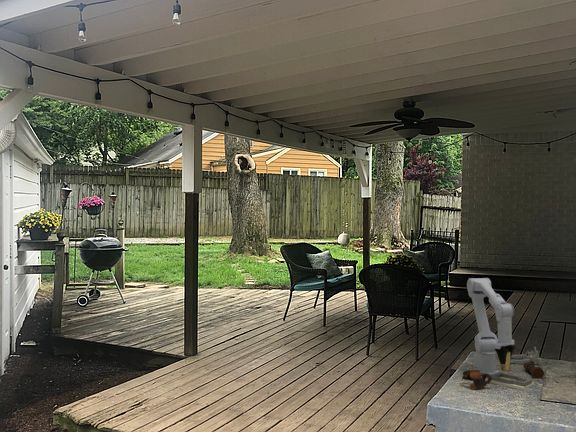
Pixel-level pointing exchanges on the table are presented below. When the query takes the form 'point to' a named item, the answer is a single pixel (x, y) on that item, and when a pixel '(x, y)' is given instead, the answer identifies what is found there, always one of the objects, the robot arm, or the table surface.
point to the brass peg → (507, 365)
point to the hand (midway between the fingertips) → (505, 363)
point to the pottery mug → (477, 378)
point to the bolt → (534, 370)
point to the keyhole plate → (511, 381)
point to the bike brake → (528, 356)
